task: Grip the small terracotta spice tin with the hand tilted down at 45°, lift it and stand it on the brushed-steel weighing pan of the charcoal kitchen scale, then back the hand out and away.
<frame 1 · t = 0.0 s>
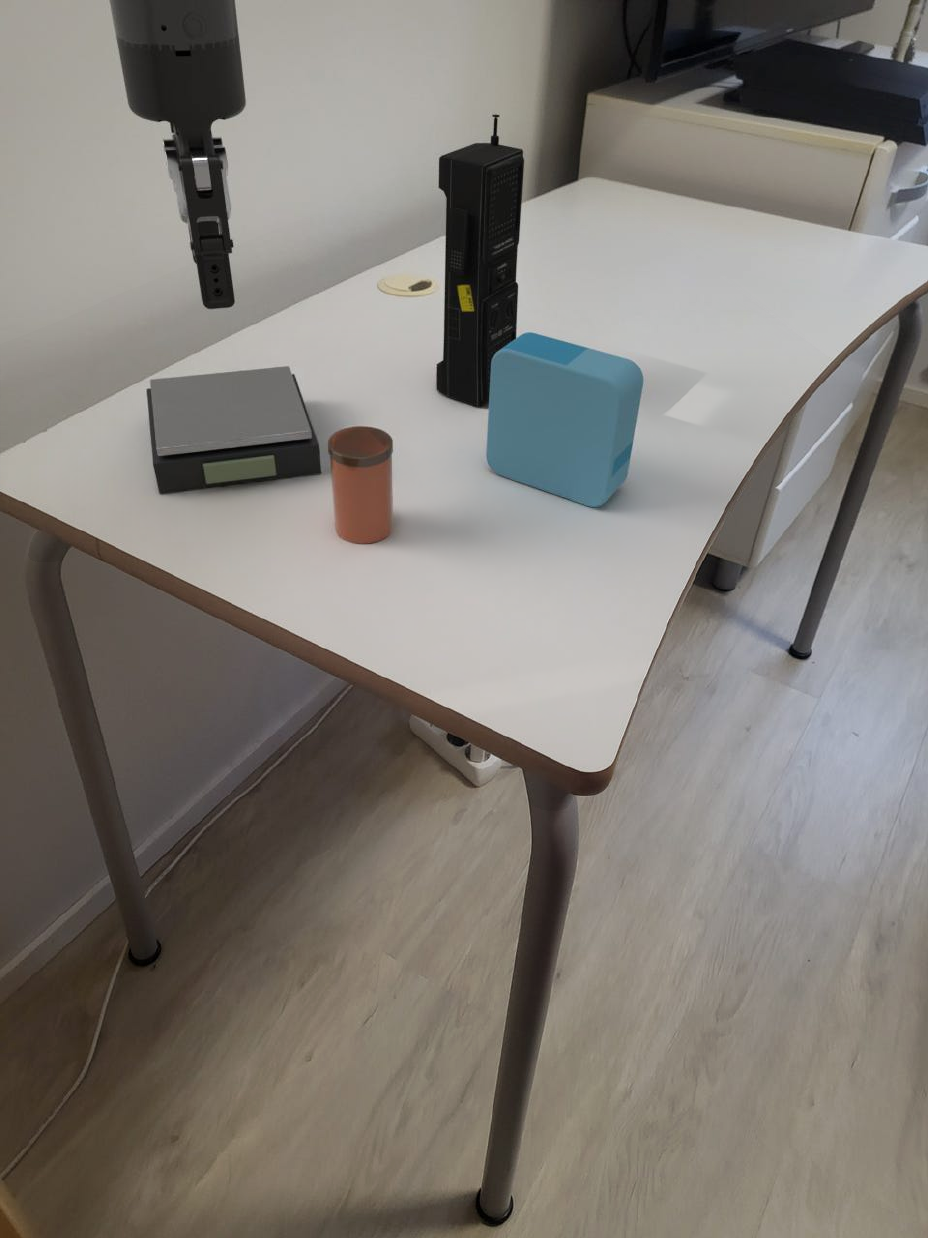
hand: (213, 283, 69), 18 cm above the table, tool pointing down, fingers open, 8 cm apart
data package: (554, 482, 84), on the table
scale: (233, 444, 87), on the table
portable radio: (474, 393, 97), on the table
scale pan: (228, 408, 85), point 4 cm above the table, slide at 0.0 cm
spice tin: (364, 526, 78), on the table
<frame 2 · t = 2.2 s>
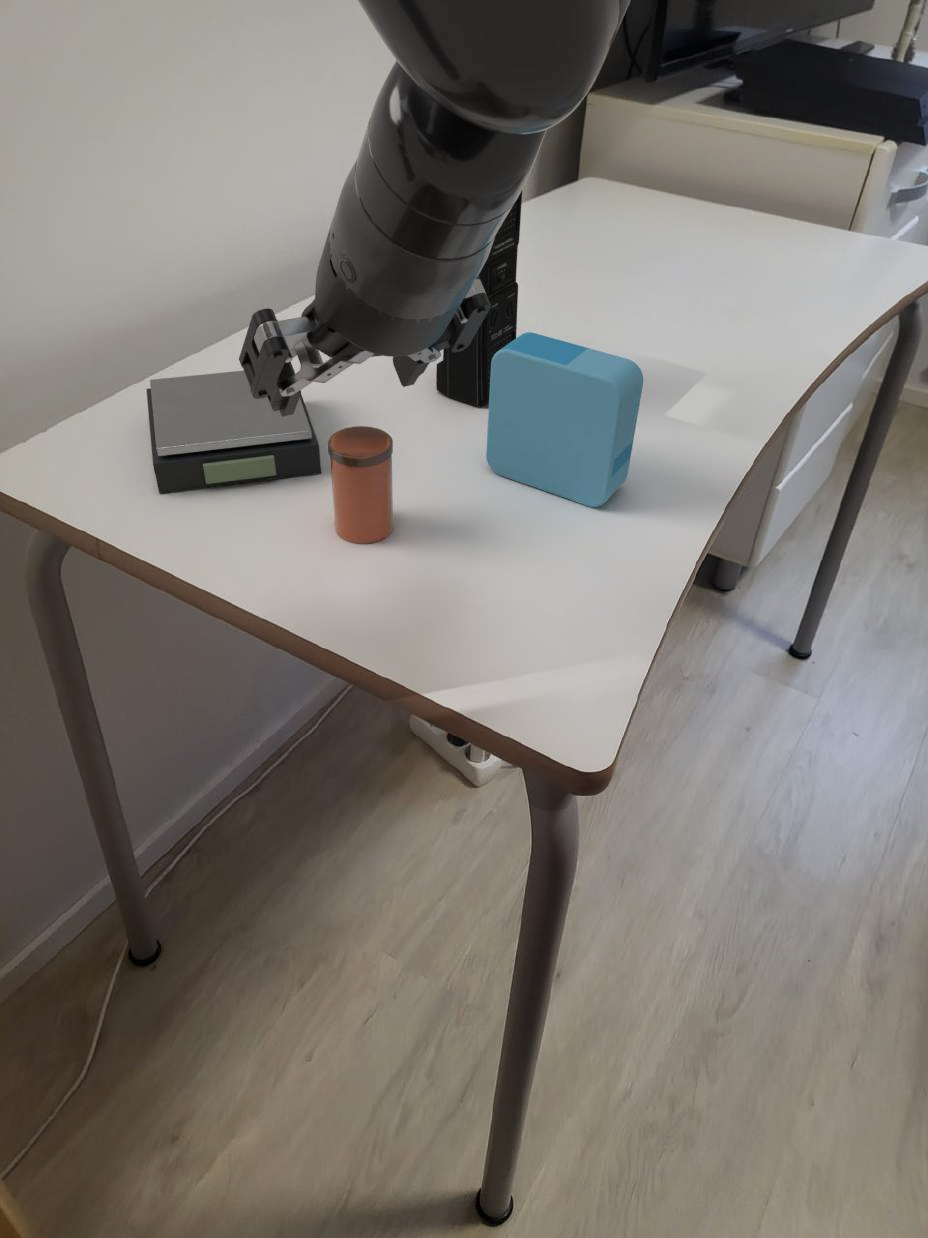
hand: (342, 387, 61), 16 cm above the table, tool tilted 40°, fingers open, 8 cm apart
nothing on the table moved.
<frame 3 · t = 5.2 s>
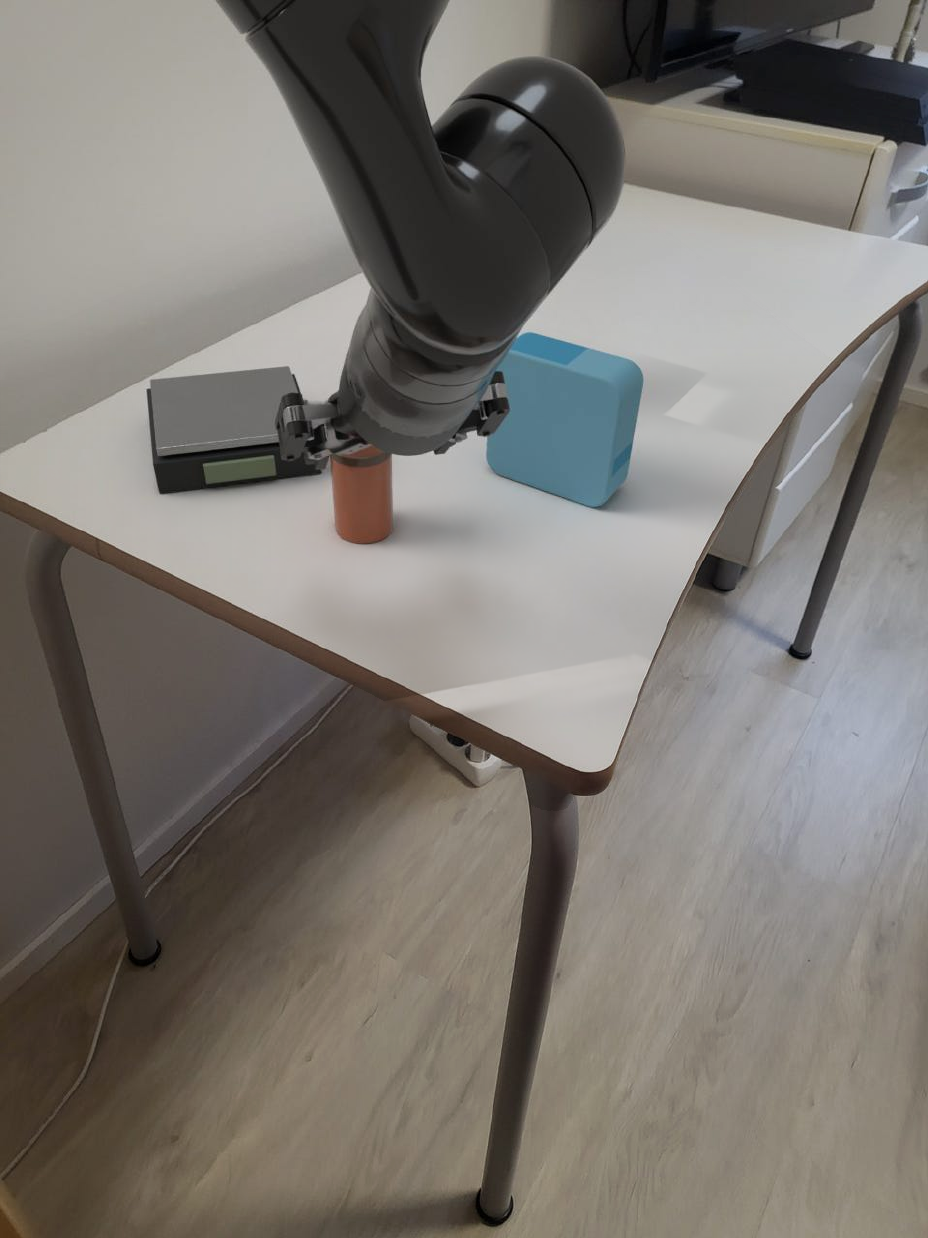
hand: (377, 448, 66), 11 cm above the table, tool tilted 45°, fingers open, 8 cm apart
nothing on the table moved.
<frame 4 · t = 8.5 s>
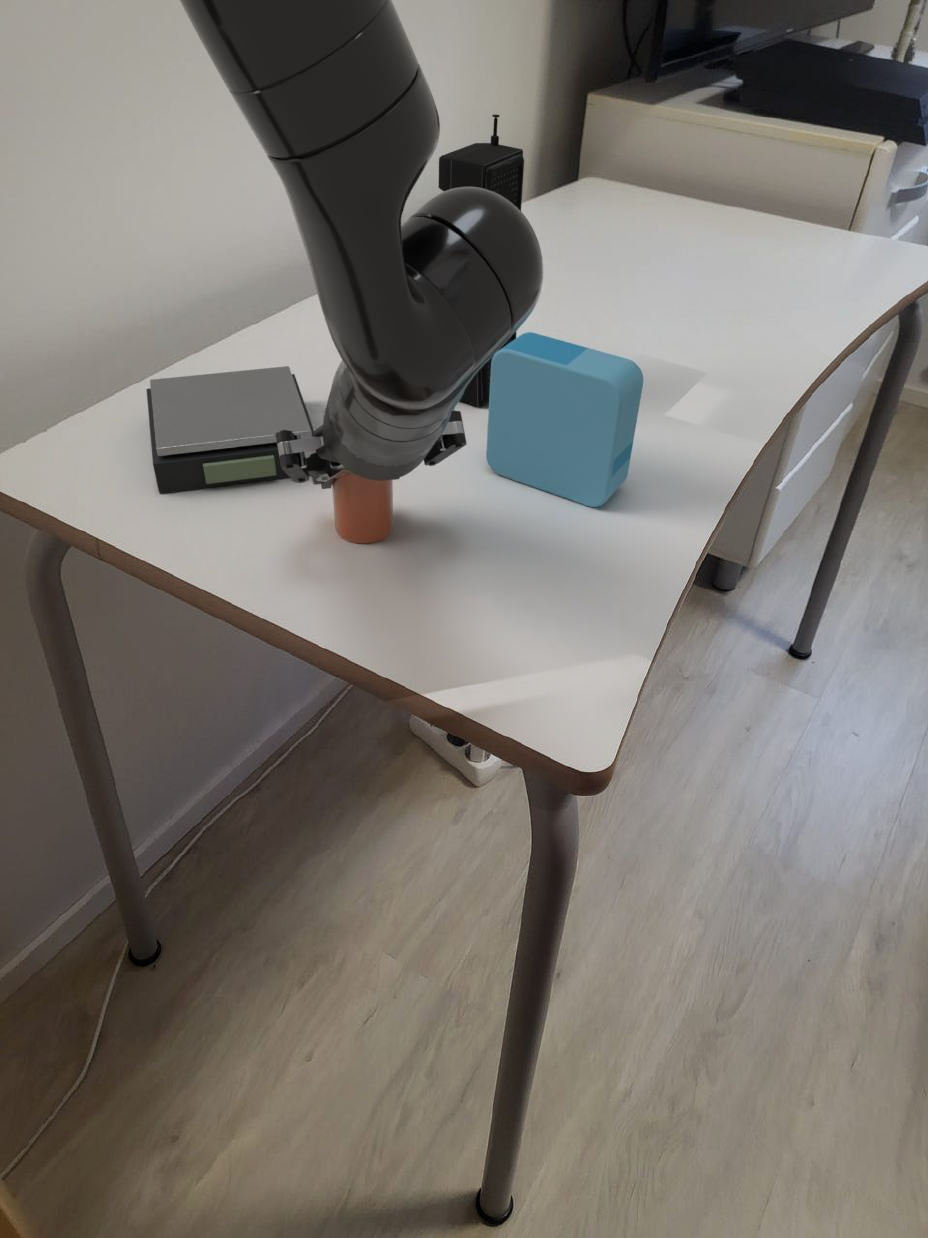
hand: (357, 471, 76), 4 cm above the table, tool tilted 45°, fingers closed on spice tin, 5 cm apart
spice tin: (364, 526, 78), on the table, touching gripper
everything else where it was.
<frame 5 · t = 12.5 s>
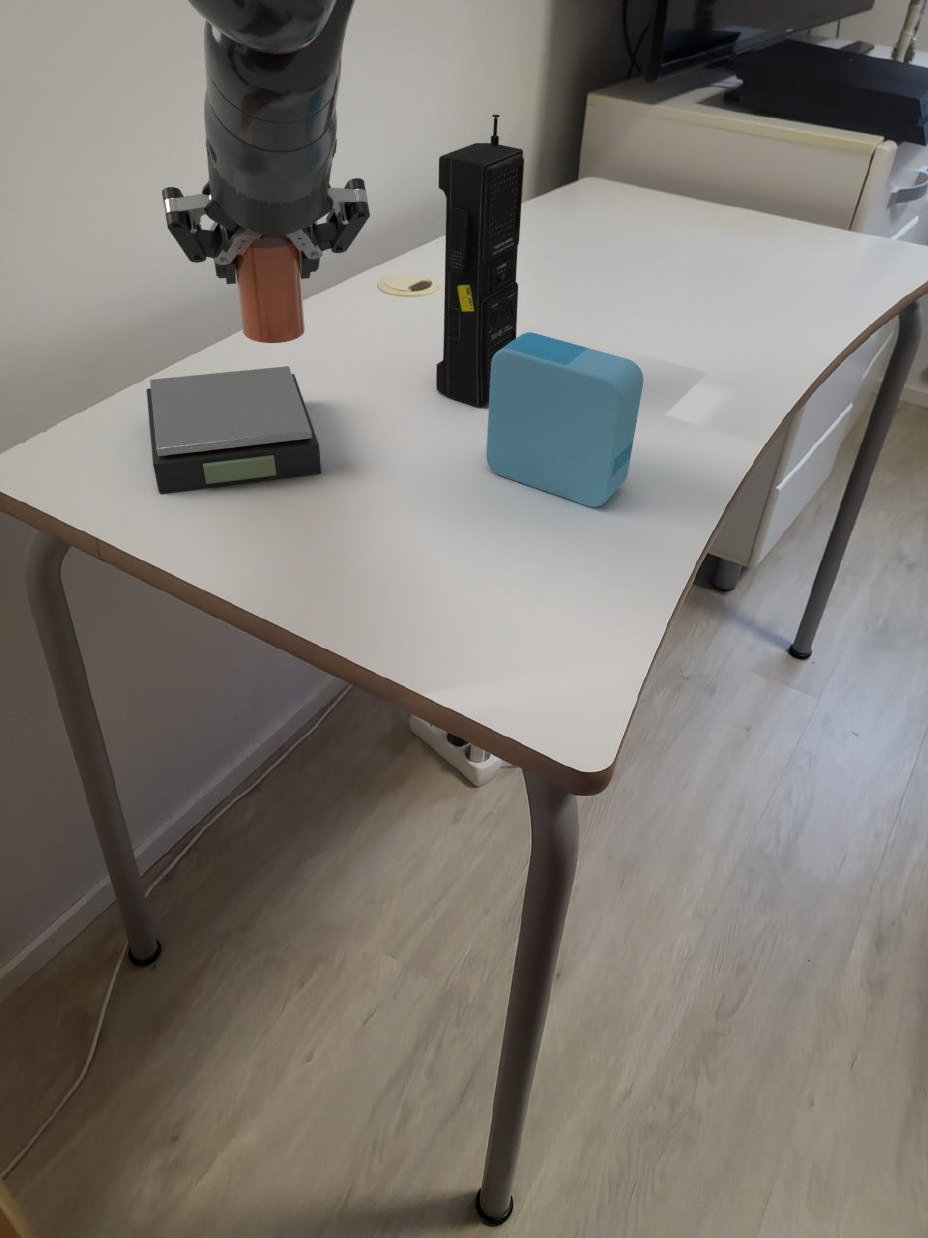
hand: (266, 269, 72), 18 cm above the table, tool tilted 45°, fingers closed on spice tin, 5 cm apart
spice tin: (274, 330, 74), point 14 cm above the table, touching gripper
everything else where it was.
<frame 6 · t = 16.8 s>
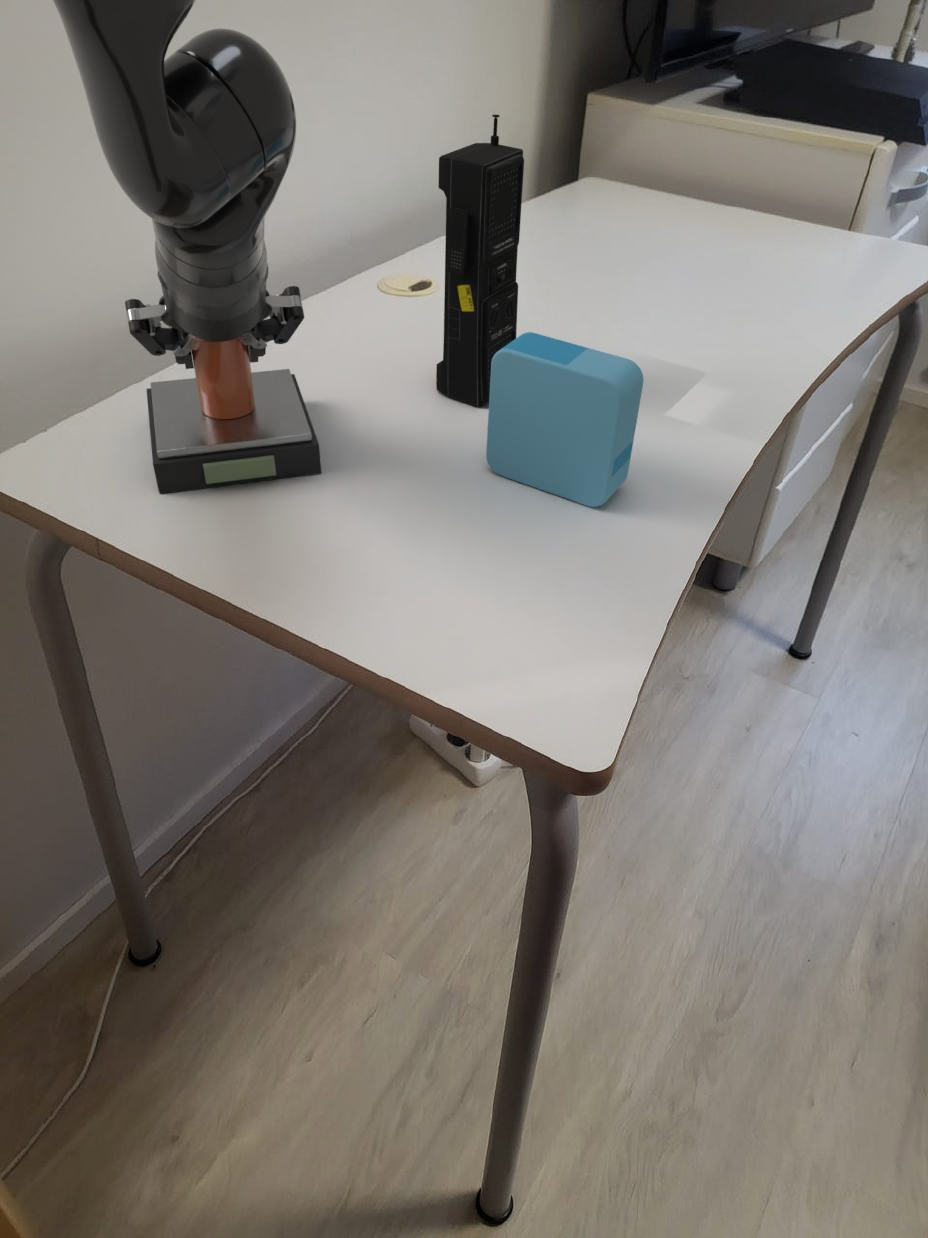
hand: (220, 354, 83), 8 cm above the table, tool tilted 45°, fingers closed on spice tin, 5 cm apart
scale pan: (228, 410, 85), point 3 cm above the table, slide at -0.3 cm, touching spice tin
spice tin: (228, 406, 85), point 4 cm above the table, touching gripper, scale pan
everything else where it was.
when the fingers open (8 cm above the table, at t = 16.8 s): spice tin stays where it is, resting on scale pan.
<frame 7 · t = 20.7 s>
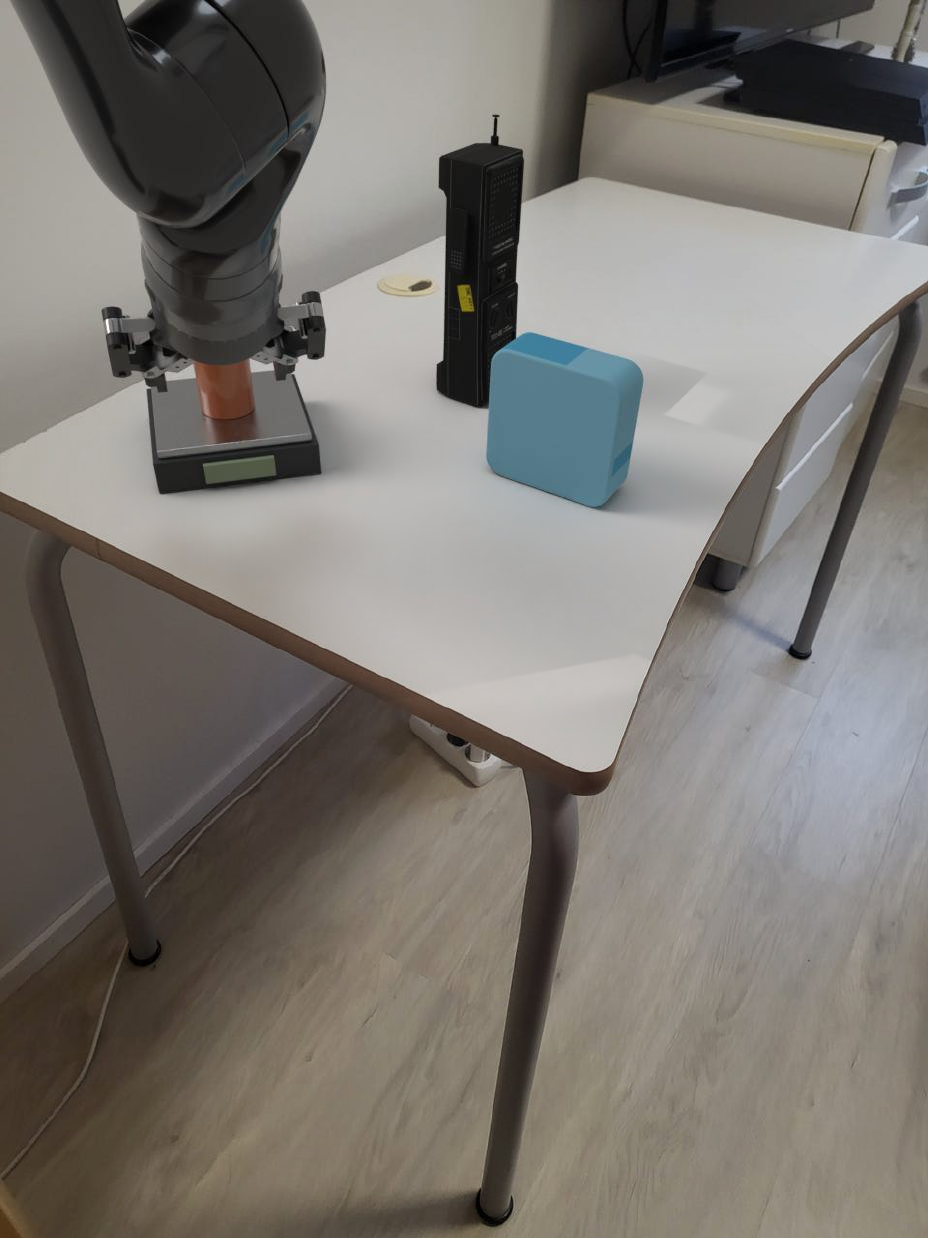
hand: (220, 373, 69), 13 cm above the table, tool tilted 45°, fingers open, 8 cm apart
spice tin: (228, 406, 85), point 4 cm above the table, touching scale pan
everything else where it was.
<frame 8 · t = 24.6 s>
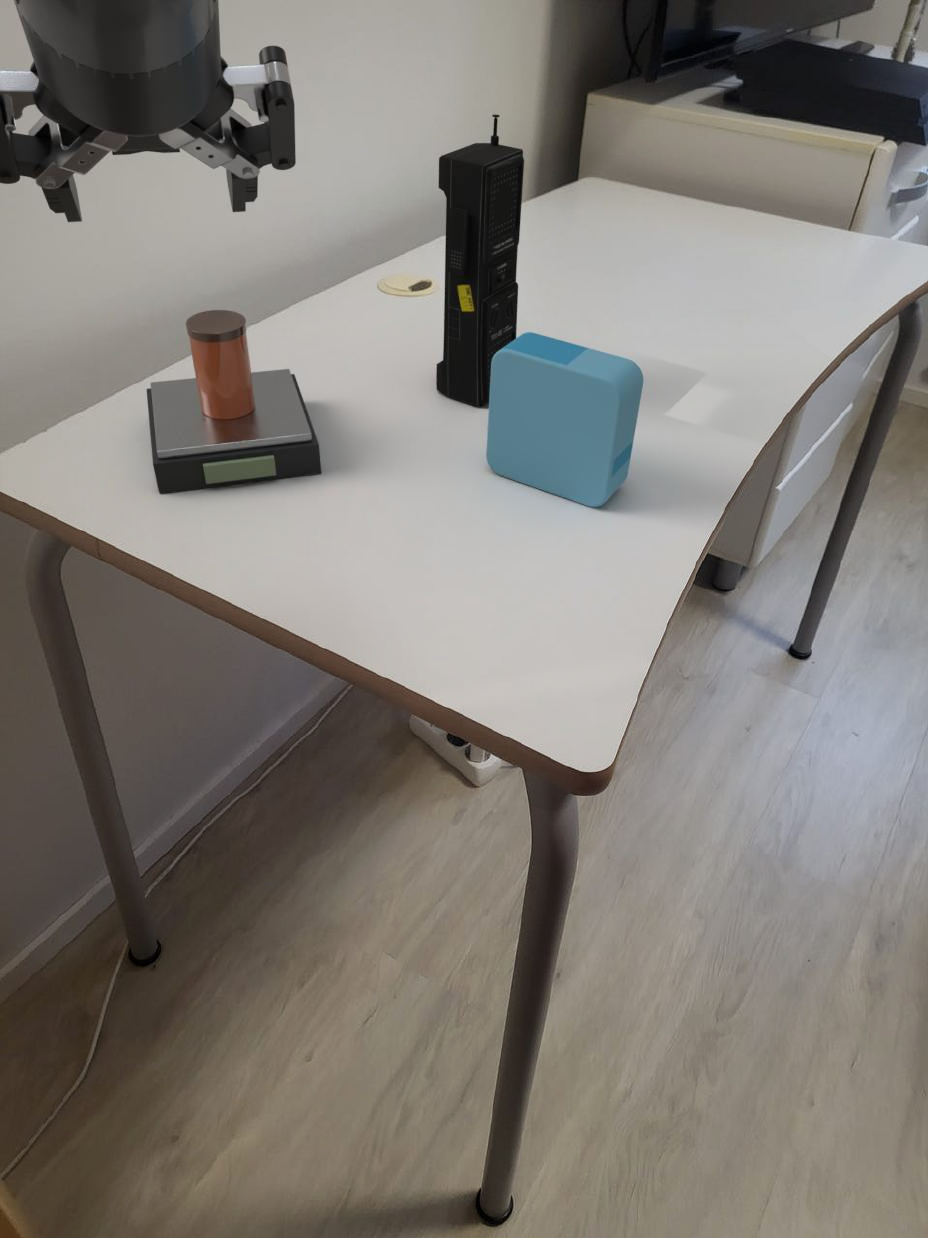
hand: (155, 200, 51), 29 cm above the table, tool tilted 45°, fingers open, 8 cm apart
nothing on the table moved.
at the end: spice tin inside the target area on the scale (0.0 cm from its centre), point 3.8 cm above the scale's base; spice tin tilted 0°; spice tin touching scale pan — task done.
